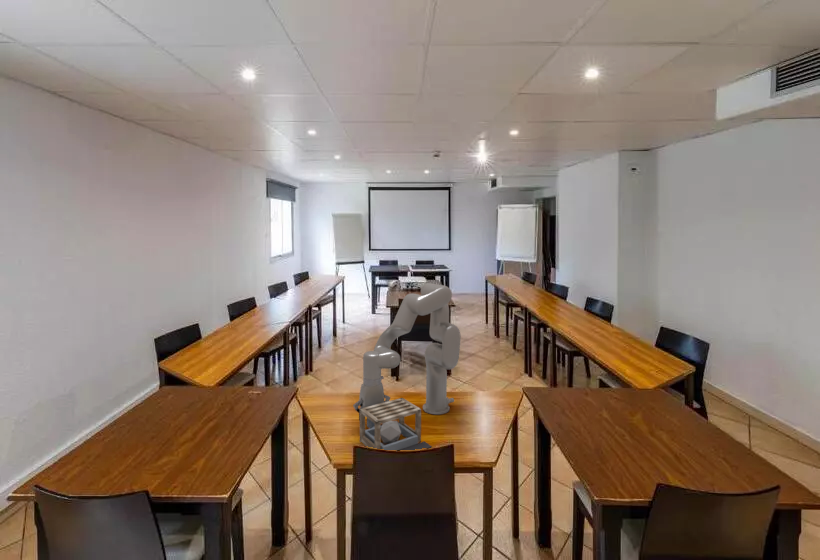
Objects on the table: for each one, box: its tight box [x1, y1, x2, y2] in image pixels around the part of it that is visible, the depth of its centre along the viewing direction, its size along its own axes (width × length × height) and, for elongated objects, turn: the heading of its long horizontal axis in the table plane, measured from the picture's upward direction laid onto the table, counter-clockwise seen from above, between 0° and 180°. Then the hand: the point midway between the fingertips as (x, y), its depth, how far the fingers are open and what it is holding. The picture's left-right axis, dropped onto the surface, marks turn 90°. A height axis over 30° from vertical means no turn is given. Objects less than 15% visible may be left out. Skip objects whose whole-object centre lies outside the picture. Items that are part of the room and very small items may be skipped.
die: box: [380, 420, 402, 445], centre depth 168 cm, size 8×9×10 cm
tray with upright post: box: [365, 417, 419, 450], centre depth 171 cm, size 16×24×9 cm, turn 34°
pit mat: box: [400, 441, 433, 450], centre depth 163 cm, size 12×5×1 cm, turn 124°
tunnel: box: [359, 397, 422, 449], centre depth 168 cm, size 20×14×14 cm
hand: (372, 419), depth 180 cm, fingers open, 9 cm apart
